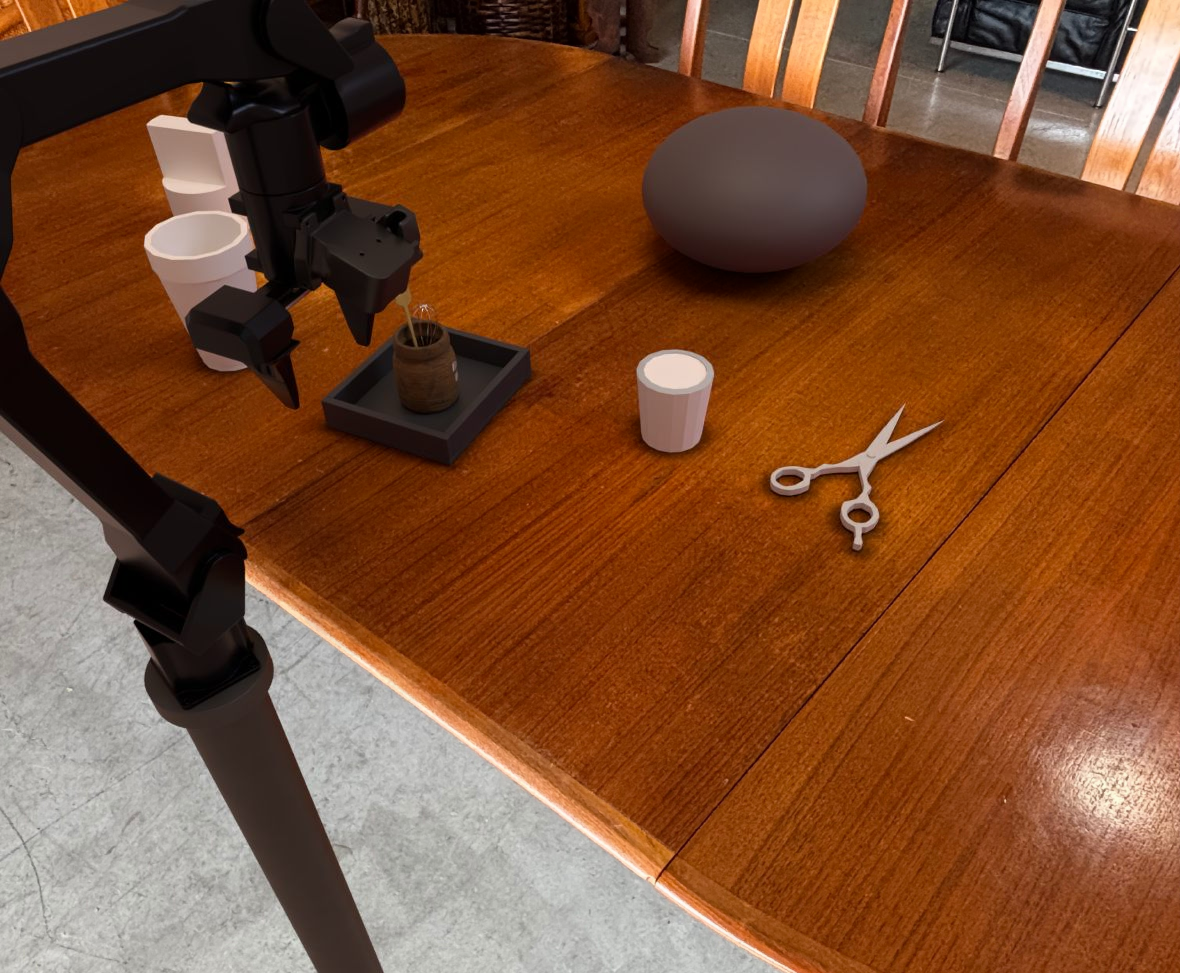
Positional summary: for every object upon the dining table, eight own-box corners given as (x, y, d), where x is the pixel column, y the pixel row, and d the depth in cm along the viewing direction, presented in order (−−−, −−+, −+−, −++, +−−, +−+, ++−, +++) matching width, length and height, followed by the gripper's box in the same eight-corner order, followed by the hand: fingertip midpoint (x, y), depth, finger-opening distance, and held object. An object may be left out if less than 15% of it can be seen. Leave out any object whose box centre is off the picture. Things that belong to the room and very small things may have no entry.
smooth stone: (602, 231, 118) (602, 101, 107) (774, 186, 126) (790, 61, 115) (711, 330, 103) (724, 192, 92) (899, 273, 111) (931, 139, 100)
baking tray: (450, 466, 89) (446, 439, 87) (327, 426, 93) (320, 400, 91) (531, 374, 98) (529, 349, 96) (416, 342, 102) (412, 317, 100)
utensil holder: (418, 423, 92) (398, 310, 83) (386, 391, 96) (365, 279, 87) (472, 401, 95) (458, 288, 86) (439, 370, 98) (423, 259, 89)
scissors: (753, 487, 85) (877, 385, 95) (753, 494, 86) (875, 391, 96) (859, 545, 80) (978, 431, 90) (857, 552, 81) (975, 437, 91)
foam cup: (172, 350, 102) (128, 231, 92) (254, 318, 106) (219, 201, 96) (212, 391, 97) (170, 270, 87) (296, 356, 101) (265, 237, 91)
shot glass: (669, 466, 88) (673, 403, 83) (619, 430, 92) (620, 367, 87) (723, 436, 91) (730, 372, 86) (673, 402, 95) (677, 339, 90)
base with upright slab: (163, 237, 118) (128, 135, 109) (204, 203, 124) (174, 104, 115) (229, 247, 116) (198, 145, 108) (267, 213, 122) (241, 113, 113)
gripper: (293, 268, 57) (345, 475, 68) (459, 143, 68) (480, 338, 80) (145, 229, 60) (218, 432, 72) (327, 116, 71) (365, 307, 83)
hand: (329, 375), depth 76 cm, fingers open, 9 cm apart
